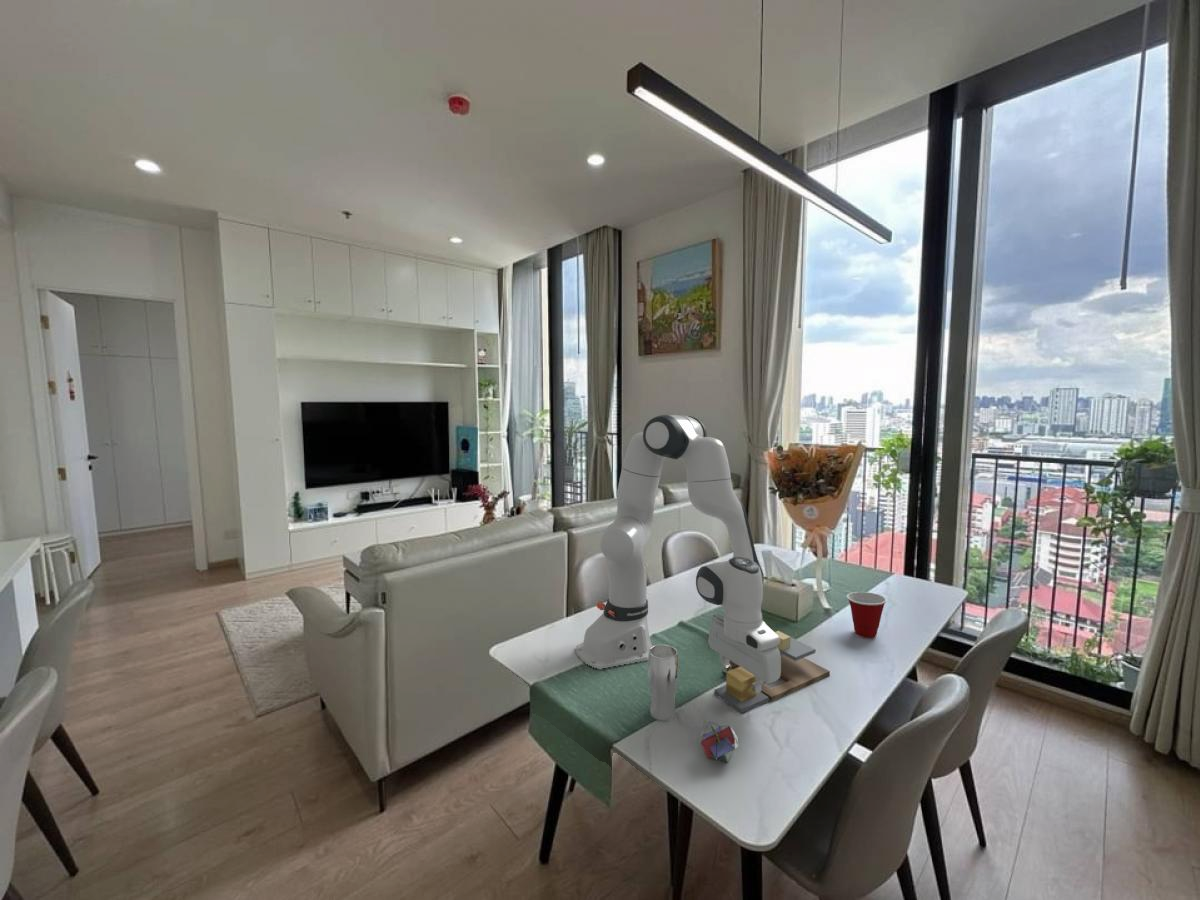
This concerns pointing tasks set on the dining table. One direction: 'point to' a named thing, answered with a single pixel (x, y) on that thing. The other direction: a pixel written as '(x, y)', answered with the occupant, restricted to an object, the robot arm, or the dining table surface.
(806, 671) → the puzzle board
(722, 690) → the slate coaster
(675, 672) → the beer glass
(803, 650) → the sliding cover
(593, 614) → the dining table surface
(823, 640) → the dining table surface
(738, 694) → the ochre block
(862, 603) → the plastic cup
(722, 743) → the geometric puzzle
